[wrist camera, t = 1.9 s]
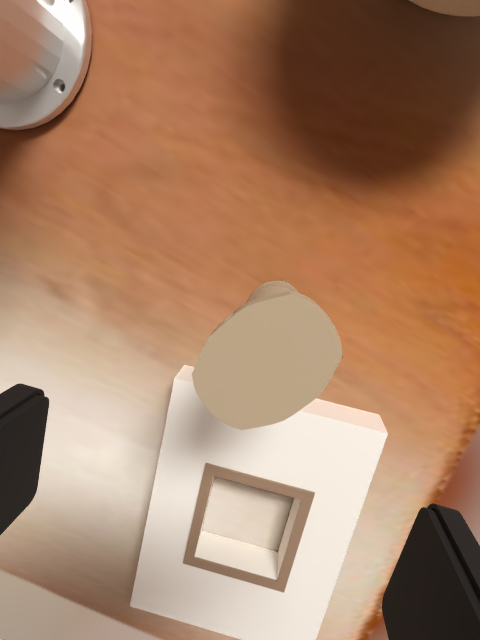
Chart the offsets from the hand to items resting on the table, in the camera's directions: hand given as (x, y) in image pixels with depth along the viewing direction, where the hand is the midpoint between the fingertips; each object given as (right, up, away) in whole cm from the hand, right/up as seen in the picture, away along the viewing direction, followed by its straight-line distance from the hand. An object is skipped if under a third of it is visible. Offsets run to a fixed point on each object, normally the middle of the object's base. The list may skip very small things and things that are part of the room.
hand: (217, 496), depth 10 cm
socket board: (+1, -12, +26) cm, 28 cm away
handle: (+3, +6, +22) cm, 23 cm away
